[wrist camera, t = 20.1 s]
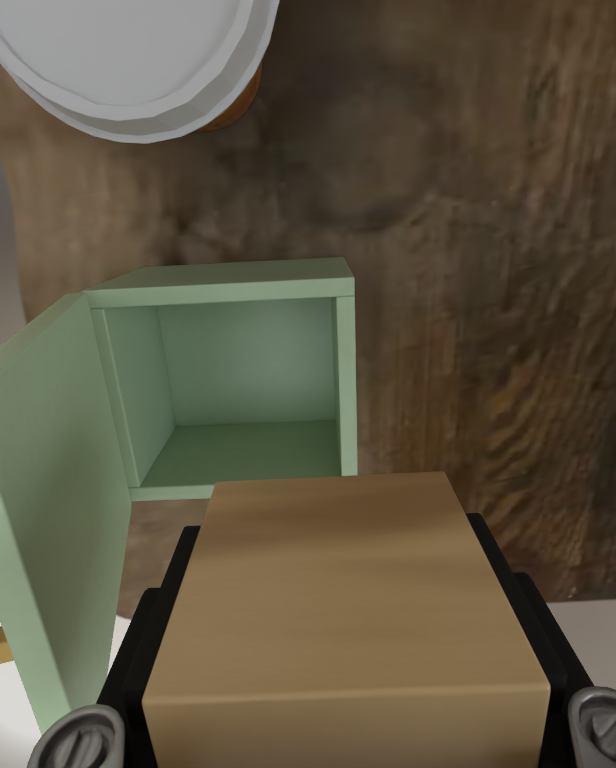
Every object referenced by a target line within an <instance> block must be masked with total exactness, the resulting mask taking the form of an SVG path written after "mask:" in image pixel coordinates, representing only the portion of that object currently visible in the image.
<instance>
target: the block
mask: <svg viewBox="0 0 616 768" xmlns="http://www.w3.org/2000/svg"><path fill="white" fill-rule="evenodd" d="M550 692H551V687H550V684H549V681H548V679H547V677H546V675H545V673H544V671H543V669H542V667H541V665H540V663H539V661H538V659H537V657H536V655H535V653H534V651H533V649H532V647H531V645H530V643H529V641H528V639H527V637H526V635H525V633H524V631H523V629H522V627H521V625H520V623H519V621H518V619H517V617H516V615H515V613H514V611H513V609H512V607H511V605H510V603H509V601H508V599H507V597H506V595H505V593H504V591H503V589H502V587H501V585H500V583H499V581H498V579H497V577H496V575H495V573H494V571H493V569H492V567H491V565H490V563H489V561H488V559H487V557H486V555H485V553H484V551H483V549H482V547H481V545H480V543H479V541H478V539H477V537H476V535H475V533H474V531H473V529H472V527H471V525H470V523H469V521H468V519H467V517H466V515H465V513H464V511H463V509H462V507H461V505H460V503H459V501H458V499H457V497H456V495H455V493H454V491H453V489H452V487H451V485H450V483H449V481H448V479H447V477H446V475H445V473H444V472H442V471H436V472H415V473H394V474H373V475H352V476H331V477H310V478H289V479H268V480H247V481H226V482H217V483H215V486H214V489H213V492H212V495H211V498H210V501H209V504H208V507H207V510H206V513H205V516H204V519H203V522H202V525H201V528H200V530H199V533H198V536H197V539H196V542H195V545H194V548H193V551H192V554H191V557H190V560H189V563H188V566H187V569H186V572H185V575H184V578H183V581H182V583H181V586H180V589H179V592H178V595H177V598H176V601H175V604H174V607H173V610H172V613H171V616H170V619H169V622H168V625H167V628H166V631H165V634H164V636H163V639H162V642H161V645H160V648H159V651H158V654H157V657H156V660H155V663H154V666H153V669H152V672H151V675H150V678H149V681H148V684H147V687H146V689H145V692H144V695H143V698H142V707H143V711H144V715H145V718H146V722H147V726H148V730H149V734H150V738H151V742H152V746H153V750H154V754H155V758H156V762H157V765H158V768H538V763H539V758H540V752H541V746H542V740H543V734H544V728H545V722H546V716H547V710H548V704H549V698H550Z"/></svg>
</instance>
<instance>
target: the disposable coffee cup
mask: <svg viewBox="0 0 616 768" xmlns="http://www.w3.org/2000/svg"><path fill="white" fill-rule="evenodd" d="M278 4H279V0H0V64H1V65H2V66H3V67H4V69H5V70H6V71H7V72H8V73H9V75H10V76H11V77H12V78H13V79H14V81H15V82H16V83H17V84H18V85H19V87H20V88H21V89H22V90H24V91H25V92H26V93H27V94H28V95H29V96H30V97H31V98H33V99H34V100H35V101H36V102H37V103H38V104H39V105H41V106H42V107H43V108H44V109H45V110H46V111H48V112H49V113H51V114H52V115H54V116H55V117H57V118H59V119H60V120H62V121H63V122H65V123H66V124H68V125H70V126H72V127H74V128H77V129H79V130H81V131H84V132H86V133H88V134H90V135H93V136H96V137H100V138H104V139H108V140H113V141H117V142H125V143H142V144H148V143H153V142H158V141H163V140H168V139H173V138H178V137H182V136H184V135H186V134H188V133H191V132H193V131H199V132H205V131H214V130H218V129H221V128H224V127H226V126H228V125H230V124H231V123H233V122H235V121H236V120H238V119H239V118H240V117H241V116H242V115H243V114H244V113H245V111H246V110H247V109H248V108H249V106H250V105H251V103H252V101H253V100H254V98H255V96H256V94H257V90H258V87H259V84H260V79H261V72H262V58H263V56H264V53H265V51H266V49H267V47H268V45H269V42H270V38H271V34H272V30H273V25H274V21H275V17H276V13H277V9H278Z"/></svg>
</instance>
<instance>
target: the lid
mask: <svg viewBox="0 0 616 768" xmlns="http://www.w3.org/2000/svg"><path fill="white" fill-rule="evenodd" d="M131 508H132V504H131V499H130V495H129V490H128V485H127V481H126V476H125V471H124V467H123V462H122V457H121V453H120V448H119V443H118V439H117V434H116V429H115V425H114V420H113V416H112V411H111V406H110V402H109V397H108V392H107V388H106V383H105V378H104V374H103V369H102V364H101V360H100V355H99V350H98V346H97V341H96V336H95V332H94V327H93V322H92V318H91V313H90V308H89V304H88V299H87V294H86V292H79V293H67V294H65V295H64V296H63V297H61V298H60V299H59V300H58V301H56V302H55V303H54V304H52V305H51V306H50V307H49V308H47V309H46V310H45V311H44V312H42V313H41V314H40V315H38V316H37V317H36V318H35V319H33V320H32V321H31V322H30V323H28V324H27V325H26V326H24V327H23V328H22V329H21V330H19V331H18V332H17V333H16V334H14V335H13V336H12V337H10V338H9V339H8V340H7V341H5V342H4V343H3V344H2V345H0V622H1V625H2V626H1V627H0V664H1V663H5V662H9V661H13V660H14V661H15V663H16V666H17V668H18V672H19V674H20V677H21V680H22V682H23V685H24V688H25V691H26V693H27V696H28V699H29V701H30V704H31V707H32V710H33V712H34V715H35V718H36V720H37V723H38V726H39V729H40V731H41V734H42V735H43V734H44V733H45V732H46V731H47V730H48V729H49V728H50V727H51V726H52V725H53V724H54V723H55V722H56V721H57V720H59V719H60V718H62V717H63V716H65V715H66V714H68V713H69V712H71V711H73V710H76V709H78V708H80V707H83V706H87V705H94V704H96V702H97V700H98V697H99V695H100V693H101V690H102V688H103V686H104V683H105V681H106V679H107V671H108V666H109V659H110V652H111V645H112V638H113V630H114V624H115V617H116V611H117V604H118V597H119V590H120V583H121V576H122V569H123V563H124V556H125V549H126V542H127V535H128V528H129V521H130V515H131Z"/></svg>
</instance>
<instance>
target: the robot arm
mask: <svg viewBox="0 0 616 768" xmlns="http://www.w3.org/2000/svg"><path fill="white" fill-rule="evenodd" d="M465 515H466V517H467V519H468V521H469V523H470V525H471V527H472V529H473V531H474V533H475V535H476V537H477V539H478V541H479V543H480V545H481V547H482V549H483V551H484V553H485V555H486V557H487V559H488V561H489V563H490V565H491V567H492V569H493V571H494V573H495V575H496V577H497V579H498V581H499V583H500V585H501V587H502V589H503V591H504V593H505V595H506V597H507V599H508V601H509V603H510V605H511V607H512V609H513V611H514V613H515V615H516V617H517V619H518V621H519V623H520V625H521V627H522V629H523V631H524V633H525V635H526V637H527V639H528V641H529V643H530V645H531V647H532V649H533V651H534V653H535V655H536V657H537V659H538V661H539V663H540V665H541V667H542V669H543V671H544V673H545V675H546V677H547V679H548V681H549V684H550V687H551V692H550V698H549V704H548V710H547V716H546V722H545V728H544V734H543V740H542V746H541V752H540V758H539V763H538V768H616V690H614V689H612V688H608V687H599V686H594V685H593V683H592V681H591V680H590V678H589V676H588V674H587V673H586V671H585V669H584V668H583V666H582V664H581V662H580V661H579V659H578V658H577V656H576V654H575V652H574V651H573V649H572V647H571V645H570V644H569V642H568V640H567V639H566V637H565V635H564V633H563V632H562V630H561V629H560V627H559V625H558V623H557V622H556V620H555V618H554V616H553V615H552V613H551V611H550V610H549V608H548V606H547V605H546V603H545V601H544V599H543V598H542V596H541V594H540V593H539V591H538V589H537V587H536V586H535V584H534V582H533V581H532V579H531V578H530V577H529V575H528V574H526V573H525V572H521V573H513V572H512V570H511V569H510V567H509V565H508V563H507V561H506V559H505V558H504V556H503V554H502V552H501V550H500V548H499V547H498V545H497V543H496V541H495V539H494V537H493V536H492V534H491V532H490V530H489V528H488V526H487V525H486V523H485V521H484V519H483V517H482V516H481V514H479V513H468V514H465ZM200 528H201V526H186V527H184V529H183V531H182V534H181V536H180V539H179V541H178V544H177V547H176V549H175V552H174V554H173V557H172V559H171V562H170V565H169V567H168V570H167V572H166V575H165V577H164V580H163V582H162V585H161V588H148V589H147V590H145V592H144V594H143V595H142V597H141V599H140V602H139V604H138V606H137V609H136V611H135V613H134V616H133V618H132V620H131V623H130V625H129V628H128V630H127V632H126V635H125V637H124V639H123V641H122V644H121V646H120V648H119V651H118V653H117V655H116V658H115V660H114V662H113V665H112V667H111V669H110V672H109V674H108V676H107V679H106V681H105V683H104V686H103V688H102V690H101V693H100V695H99V697H98V700H97V702H96V704H94V705H87V706H83V707H80V708H78V709H76V710H73V711H71V712H69V713H68V714H66V715H65V716H63V717H62V718H60V719H59V720H57V721H56V722H55V723H54V724H53V725H52V726H51V727H50V728H49V729H48V730H47V731H46V732H45V733H44V734H43V735H42V737H41V738H40V740H39V741H38V743H37V744H36V746H35V747H34V749H33V752H32V754H31V757H30V759H29V762H28V765H27V768H158V765H157V762H156V758H155V754H154V750H153V746H152V742H151V738H150V734H149V730H148V726H147V722H146V718H145V715H144V711H143V707H142V698H143V695H144V692H145V689H146V687H147V684H148V681H149V678H150V675H151V672H152V669H153V666H154V663H155V660H156V657H157V654H158V651H159V648H160V645H161V642H162V639H163V636H164V634H165V631H166V628H167V625H168V622H169V619H170V616H171V613H172V610H173V607H174V604H175V601H176V598H177V595H178V592H179V589H180V586H181V583H182V581H183V578H184V575H185V572H186V569H187V566H188V563H189V560H190V557H191V554H192V551H193V548H194V545H195V542H196V539H197V536H198V533H199V530H200Z"/></svg>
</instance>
